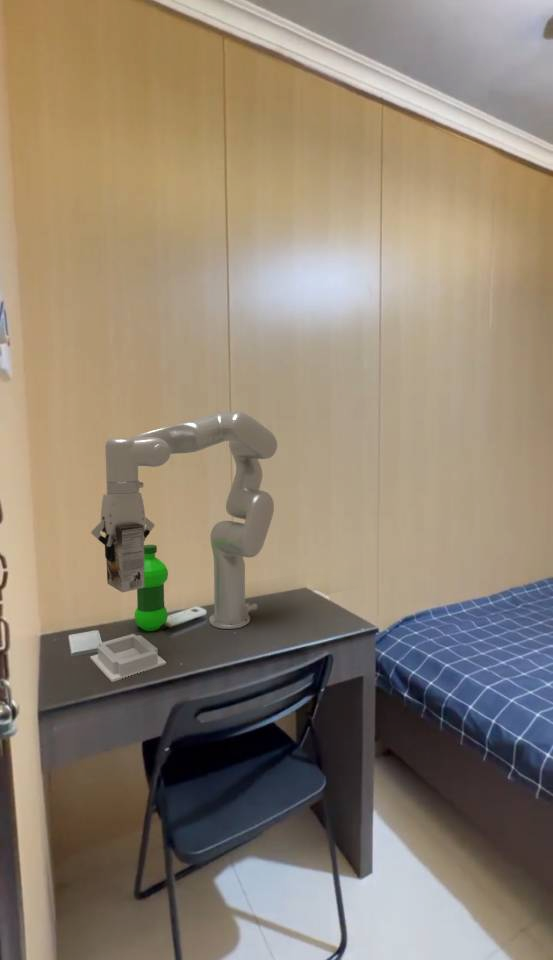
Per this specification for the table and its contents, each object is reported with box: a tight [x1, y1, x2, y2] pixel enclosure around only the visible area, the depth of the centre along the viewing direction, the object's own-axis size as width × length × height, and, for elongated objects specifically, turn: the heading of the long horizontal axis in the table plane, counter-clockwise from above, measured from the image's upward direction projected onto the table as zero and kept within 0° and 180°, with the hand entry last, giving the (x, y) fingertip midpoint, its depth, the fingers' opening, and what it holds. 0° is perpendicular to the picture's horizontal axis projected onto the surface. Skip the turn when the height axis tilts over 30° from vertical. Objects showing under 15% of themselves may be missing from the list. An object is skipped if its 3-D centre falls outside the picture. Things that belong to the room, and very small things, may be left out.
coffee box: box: [104, 524, 145, 593], centre depth 122 cm, size 9×6×16 cm
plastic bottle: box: [134, 544, 169, 632], centre depth 145 cm, size 10×10×25 cm
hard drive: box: [67, 629, 103, 658], centre depth 135 cm, size 2×8×12 cm
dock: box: [89, 633, 167, 683], centre depth 125 cm, size 14×15×4 cm
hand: (124, 558), depth 122 cm, fingers closed on coffee box, 6 cm apart
